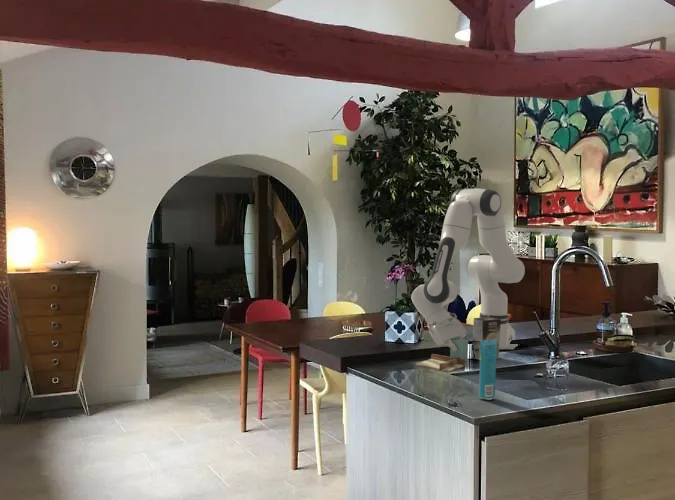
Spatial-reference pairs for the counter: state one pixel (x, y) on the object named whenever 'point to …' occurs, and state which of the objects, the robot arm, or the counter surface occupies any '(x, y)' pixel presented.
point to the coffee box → (485, 333)
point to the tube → (487, 368)
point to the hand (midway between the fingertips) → (460, 349)
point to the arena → (442, 363)
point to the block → (460, 349)
